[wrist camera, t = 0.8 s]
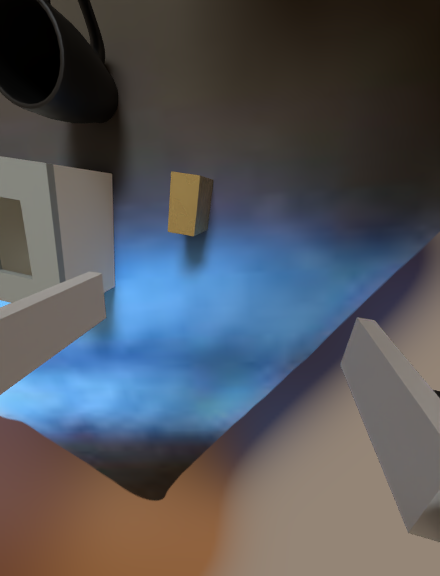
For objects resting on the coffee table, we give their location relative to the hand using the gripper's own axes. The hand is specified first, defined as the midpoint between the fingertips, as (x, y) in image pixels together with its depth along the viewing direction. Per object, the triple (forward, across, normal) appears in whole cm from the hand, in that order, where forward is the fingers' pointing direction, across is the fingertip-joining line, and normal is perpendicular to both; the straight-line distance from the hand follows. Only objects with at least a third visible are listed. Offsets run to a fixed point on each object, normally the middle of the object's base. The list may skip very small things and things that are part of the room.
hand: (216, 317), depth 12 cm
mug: (+20, -20, +17) cm, 33 cm away
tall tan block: (+20, -7, +4) cm, 22 cm away
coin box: (+20, -25, -1) cm, 32 cm away
